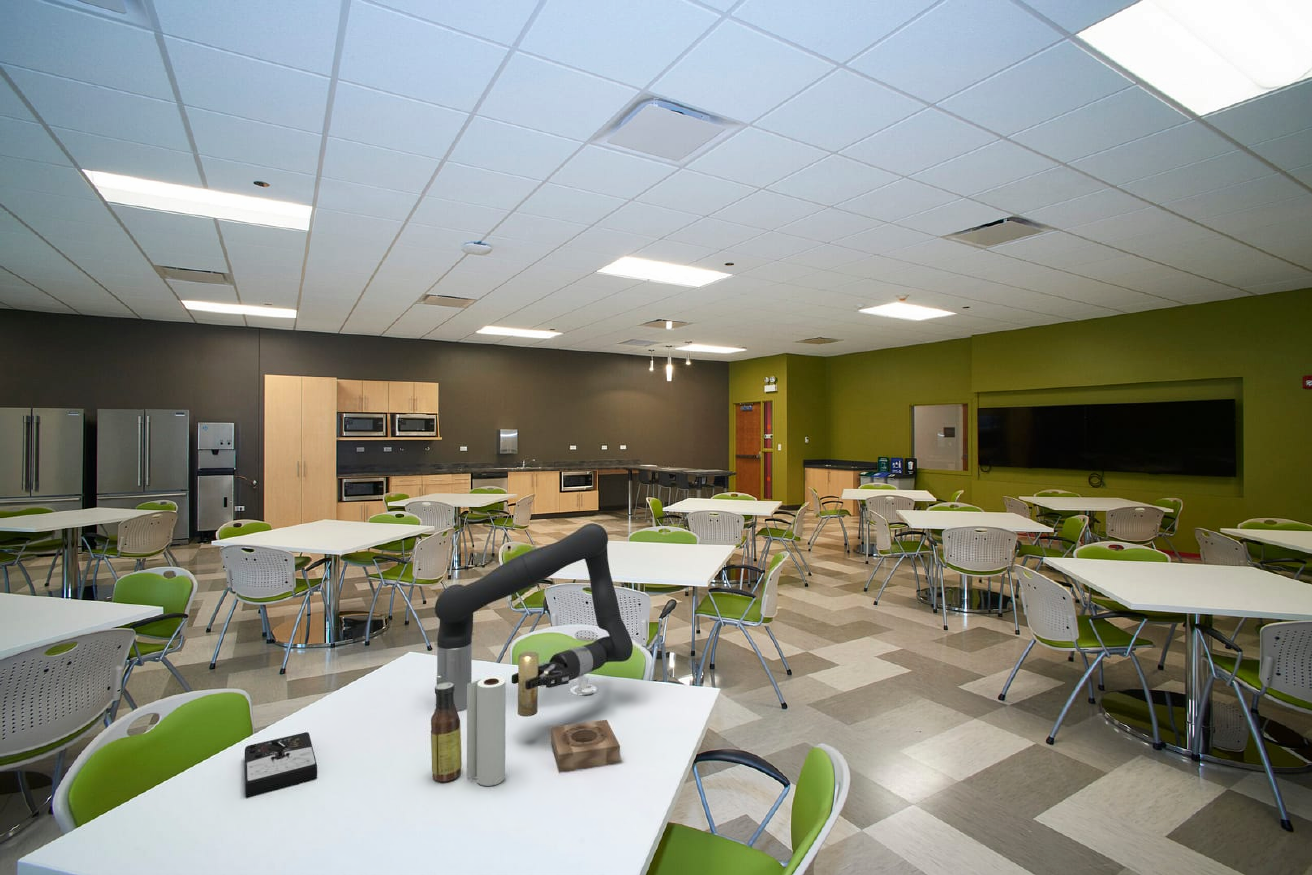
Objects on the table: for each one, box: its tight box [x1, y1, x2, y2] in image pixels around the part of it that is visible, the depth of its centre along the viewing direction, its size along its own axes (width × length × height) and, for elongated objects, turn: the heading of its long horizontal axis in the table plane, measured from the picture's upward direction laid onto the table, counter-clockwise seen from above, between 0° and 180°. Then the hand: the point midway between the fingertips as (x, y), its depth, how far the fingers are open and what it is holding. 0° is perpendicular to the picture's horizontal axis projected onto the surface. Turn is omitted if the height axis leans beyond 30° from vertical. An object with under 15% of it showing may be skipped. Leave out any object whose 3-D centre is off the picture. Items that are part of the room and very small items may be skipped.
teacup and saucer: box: [569, 675, 598, 696], centre depth 183 cm, size 9×8×4 cm
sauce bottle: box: [430, 682, 463, 783], centre depth 136 cm, size 6×6×20 cm
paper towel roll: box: [466, 676, 507, 787], centre depth 135 cm, size 7×6×21 cm
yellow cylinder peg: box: [517, 651, 540, 717], centre depth 151 cm, size 5×5×14 cm
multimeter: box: [244, 731, 318, 799], centre depth 138 cm, size 13×19×5 cm
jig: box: [550, 719, 621, 774], centre depth 146 cm, size 14×14×4 cm
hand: (519, 682), depth 149 cm, fingers closed on yellow cylinder peg, 4 cm apart
